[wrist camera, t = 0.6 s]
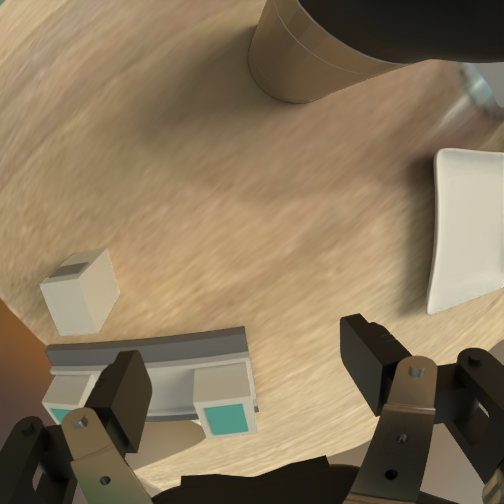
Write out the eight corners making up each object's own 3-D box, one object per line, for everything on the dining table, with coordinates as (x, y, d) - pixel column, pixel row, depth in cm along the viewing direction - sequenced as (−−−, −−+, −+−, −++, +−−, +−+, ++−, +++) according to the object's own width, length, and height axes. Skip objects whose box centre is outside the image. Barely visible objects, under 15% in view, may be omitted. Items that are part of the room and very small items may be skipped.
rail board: (48, 344, 33) (24, 382, 26) (244, 326, 35) (251, 372, 27) (88, 414, 38) (75, 451, 30) (257, 404, 40) (265, 448, 32)
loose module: (72, 252, 30) (38, 283, 22) (106, 246, 30) (77, 277, 22) (87, 298, 32) (60, 336, 24) (120, 293, 32) (98, 333, 24)
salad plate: (513, 151, 31) (528, 154, 28) (502, 276, 39) (514, 284, 35) (418, 146, 30) (436, 147, 27) (412, 306, 37) (425, 318, 34)
